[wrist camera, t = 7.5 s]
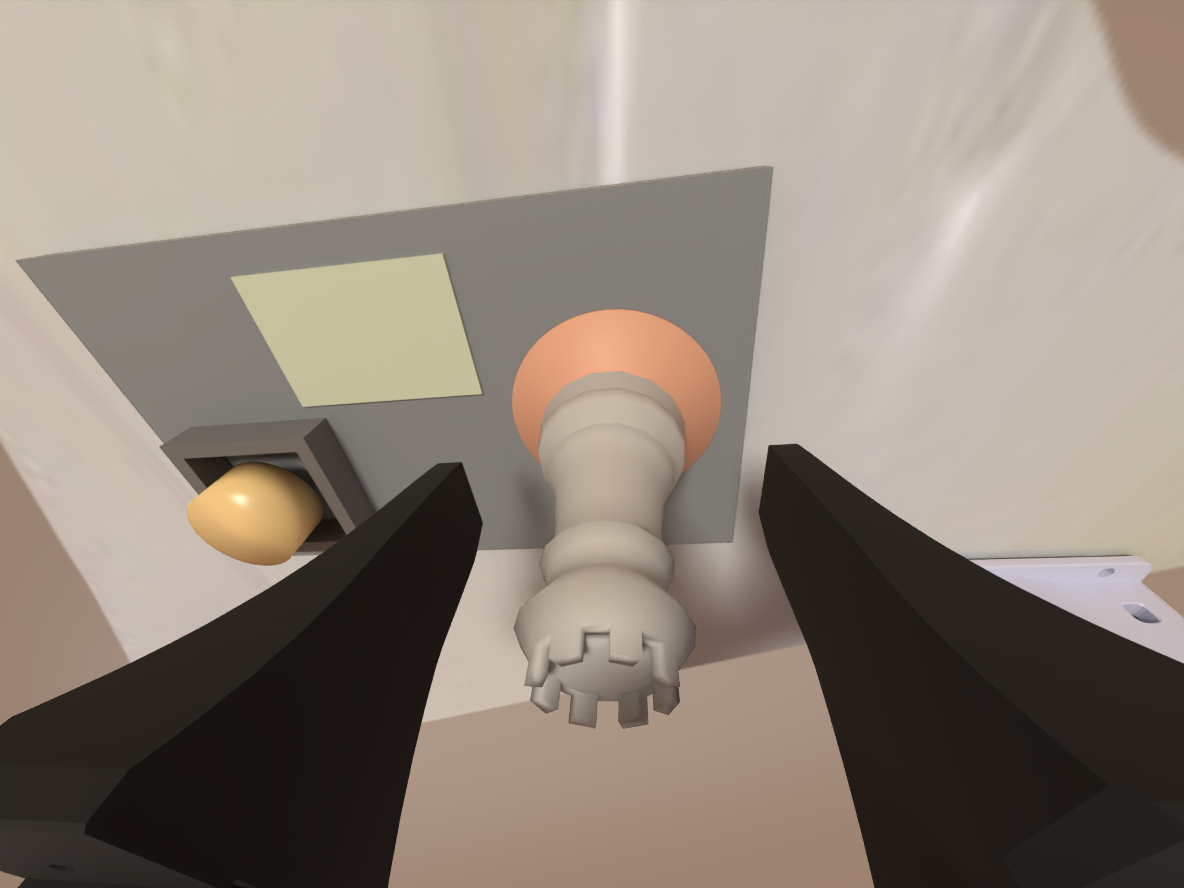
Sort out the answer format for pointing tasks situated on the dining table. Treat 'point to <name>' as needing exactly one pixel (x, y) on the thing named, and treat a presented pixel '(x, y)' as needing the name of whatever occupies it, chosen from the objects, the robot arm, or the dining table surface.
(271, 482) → the button
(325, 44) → the dining table surface
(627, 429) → the rook chess piece
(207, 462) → the grey board
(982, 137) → the dining table surface
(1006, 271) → the dining table surface
